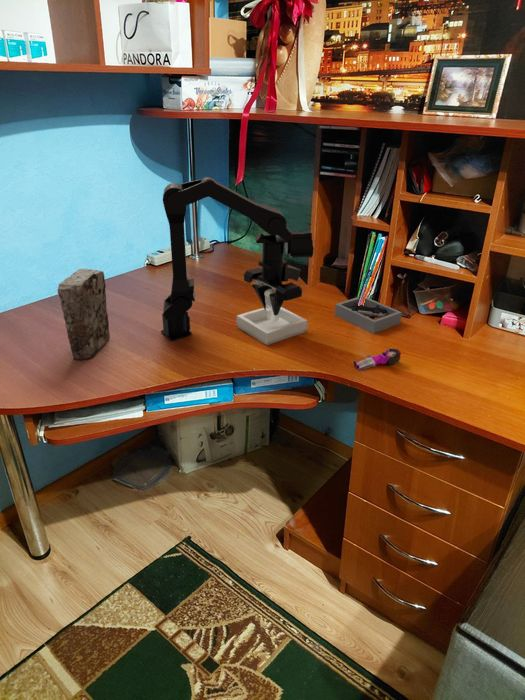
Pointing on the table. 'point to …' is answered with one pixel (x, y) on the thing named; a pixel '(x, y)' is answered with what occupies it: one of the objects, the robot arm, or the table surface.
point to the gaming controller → (369, 311)
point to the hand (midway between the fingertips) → (271, 312)
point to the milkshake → (270, 307)
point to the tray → (271, 325)
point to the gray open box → (365, 322)
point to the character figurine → (379, 359)
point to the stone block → (85, 312)
